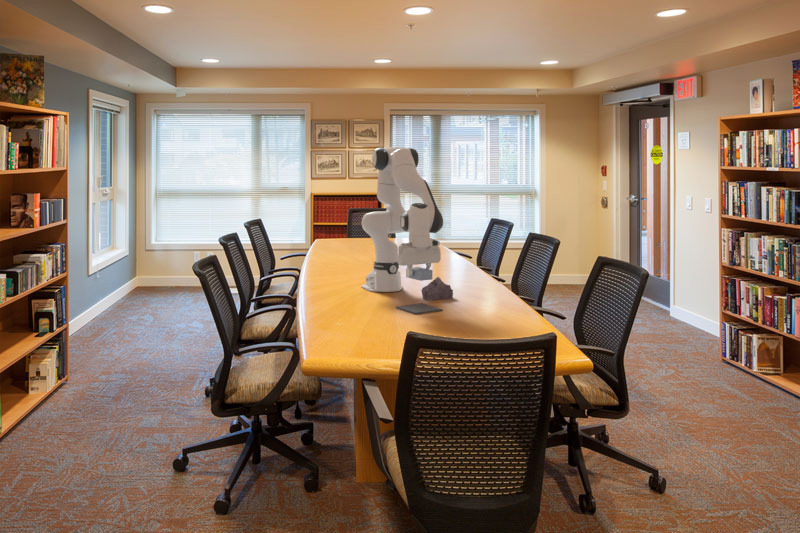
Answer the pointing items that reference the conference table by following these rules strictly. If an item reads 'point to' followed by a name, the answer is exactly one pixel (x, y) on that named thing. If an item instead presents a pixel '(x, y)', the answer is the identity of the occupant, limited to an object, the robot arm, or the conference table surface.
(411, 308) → the mat
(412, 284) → the conference table surface
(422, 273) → the block
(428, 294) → the stone
